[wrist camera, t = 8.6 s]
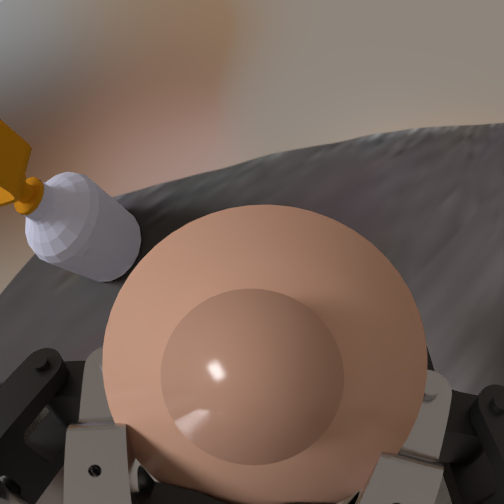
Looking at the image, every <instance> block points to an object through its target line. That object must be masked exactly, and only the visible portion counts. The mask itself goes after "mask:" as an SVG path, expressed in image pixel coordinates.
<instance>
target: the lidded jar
mask: <svg viewBox="0 0 504 504" xmlns="http://www.w3.org/2000/svg"><path fill="white" fill-rule="evenodd" d="M102 370H103V380H104V389H105V393H106V397H107V401H108V405H109V409H110V412H111V414H112V417H113V420H114V422H115V423H122V424H126V425H127V429H128V433H129V436H130V440H131V444H132V448H133V451H134V455H135V458H136V459H137V461H138V462H139V463H140V464H141V465H142V466H143V467H144V468H145V469H146V470H147V472H148V473H149V474H150V475H151V476H152V477H154V478H155V479H156V480H157V481H158V482H160V483H163V484H167V485H171V486H175V487H180V488H184V489H189V490H193V491H198V492H200V493H202V494H204V495H207V496H209V497H211V498H214V499H216V500H218V501H221V502H223V503H226V504H290V503H294V504H337V503H339V502H342V501H344V500H346V499H347V498H349V497H351V496H352V495H354V494H355V493H357V492H358V491H360V490H361V489H362V488H363V486H364V485H365V483H366V481H367V479H368V478H369V476H370V474H371V472H372V470H373V468H374V466H375V464H376V462H377V461H378V459H379V457H380V455H381V453H382V452H387V453H395V454H398V452H399V451H400V449H401V448H402V446H403V445H404V443H405V442H406V440H407V438H408V436H409V434H410V432H411V430H412V428H413V426H414V424H415V422H416V420H417V417H418V414H419V411H420V408H421V404H422V401H423V398H424V392H425V386H426V380H427V347H426V338H425V332H424V328H423V324H422V321H421V317H420V313H419V311H418V308H417V306H416V303H415V301H414V299H413V296H412V294H411V292H410V290H409V289H408V287H407V285H406V284H405V282H404V280H403V279H402V277H401V275H400V274H399V272H398V271H397V270H396V269H395V267H394V266H393V265H392V264H391V263H390V261H389V260H388V259H387V258H386V257H385V256H384V255H383V254H382V253H381V252H380V251H379V250H378V249H377V248H376V247H375V246H374V245H373V244H372V243H371V242H369V241H368V240H367V239H365V238H364V237H362V236H361V235H360V234H358V233H357V232H355V231H354V230H353V229H351V228H349V227H347V226H345V225H343V224H341V223H340V222H338V221H336V220H334V219H331V218H329V217H326V216H323V215H321V214H318V213H315V212H312V211H308V210H304V209H299V208H295V207H289V206H279V205H248V206H242V207H235V208H229V209H225V210H222V211H218V212H215V213H211V214H208V215H206V216H204V217H201V218H199V219H197V220H194V221H192V222H190V223H188V224H186V225H184V226H183V227H181V228H179V229H178V230H176V231H174V232H173V233H171V234H170V235H168V236H167V237H166V238H165V239H163V240H162V241H161V242H159V243H158V244H157V245H156V246H155V247H154V248H153V249H152V250H151V251H150V252H149V253H148V254H147V255H146V256H145V257H144V258H143V259H142V260H141V261H140V262H139V263H138V265H137V266H136V267H135V268H134V270H133V271H132V272H131V274H130V275H129V276H128V278H127V280H126V282H125V283H124V285H123V287H122V288H121V290H120V292H119V294H118V296H117V298H116V301H115V303H114V305H113V308H112V310H111V313H110V317H109V320H108V323H107V327H106V331H105V338H104V344H103V361H102Z"/></svg>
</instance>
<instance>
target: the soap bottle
mask: <svg viewBox="0 0 504 504" xmlns="http://www.w3.org/2000/svg"><path fill="white" fill-rule="evenodd" d="M30 154H31V147H30V145H29V144H28V143H27V142H26V141H25V140H23V139H22V138H21V137H20V136H19V135H18V134H16V133H15V132H14V131H13V130H12V129H11V128H10V127H8V126H7V125H6V124H5V123H4V122H3V121H2V120H1V119H0V207H1V206H4V205H8V204H11V203H14V205H15V209H16V210H17V212H18V213H20V214H22V215H23V216H25V217H26V230H25V233H26V237H27V241H28V244H29V246H30V247H31V248H32V250H33V251H34V252H35V254H36V255H37V256H38V257H39V259H41V260H44V261H46V262H48V263H50V264H53V265H55V266H58V267H61V268H63V269H66V270H69V271H71V272H74V273H76V274H79V275H82V276H85V277H87V278H90V279H93V280H96V281H98V282H107V281H112V280H114V279H117V278H119V277H121V276H123V275H124V274H125V273H126V272H127V271H128V270H129V269H130V268H131V267H132V265H133V264H134V262H135V260H136V258H137V256H138V254H139V249H140V244H141V235H140V227H139V225H138V223H137V221H136V219H135V217H134V216H133V215H132V214H131V213H129V212H128V211H127V210H126V209H125V208H124V207H122V206H121V205H120V204H119V203H118V202H116V201H115V200H114V199H113V198H112V197H111V196H109V195H108V194H107V193H106V192H105V191H104V190H102V189H101V188H100V187H99V186H98V185H97V184H96V183H94V182H93V181H92V180H91V179H90V178H88V177H87V176H86V175H84V174H77V173H72V172H65V173H61V174H58V175H56V176H54V177H53V178H51V179H50V180H48V181H47V182H46V183H44V182H43V181H41V180H39V179H37V178H36V177H30V178H28V179H27V180H26V175H25V172H26V168H27V164H28V161H29V157H30Z"/></svg>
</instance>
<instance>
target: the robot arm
mask: <svg viewBox="0 0 504 504" xmlns="http://www.w3.org/2000/svg"><path fill="white" fill-rule="evenodd" d="M426 347H427V345H426ZM102 361H103V347H101V348H99V349H97V350H95V351H94V352H93V353H91V354H90V355H89V357H88V358H87V360H86V361H67V362H64V361H63V359H62V357H61V356H60V354H59V353H58V351H56V350H54V349H51V348H43V349H40V350H37V351H35V352H33V353H32V354H31V355H30V356H28V358H27V359H26V360H25V361H24V362H23V363H22V364H21V365H20V366H19V367H18V368H17V369H16V370H15V371H14V372H13V373H12V374H11V375H10V376H9V377H8V378H7V379H6V381H5V382H4V383H3V384H2V385H1V386H0V504H35V503H36V502H37V501H38V499H39V498H40V496H41V495H42V494H43V492H44V491H45V489H46V488H47V487H48V485H49V484H50V482H51V481H52V480H53V478H54V477H55V475H56V474H57V473H58V471H59V470H60V469H61V467H62V466H63V464H64V504H226V503H223V502H221V501H218V500H216V499H214V498H211V497H209V496H207V495H204V494H202V493H200V492H198V491H193V490H189V489H184V488H180V487H175V486H171V485H167V484H163V483H160V482H158V481H157V480H156V479H155V478H154V477H152V476H151V475H150V474H149V473H148V472H147V470H146V469H145V468H144V467H143V466H142V465H141V464H140V463H139V462H138V461H137V459H136V458H135V455H134V451H133V448H132V444H131V440H130V436H129V433H128V429H127V425H126V424H122V423H115V422H114V420H113V417H112V414H111V412H110V409H109V405H108V401H107V397H106V393H105V389H104V380H103V370H102ZM45 406H46V408H47V409H48V410H49V413H48V414H47V415H46V416H45V418H44V419H43V420H42V421H41V422H40V424H39V425H38V426H37V427H36V429H35V430H34V431H33V432H32V434H31V435H30V436H29V437H28V438H27V439H26V440H24V439H23V436H24V432H25V430H26V429H27V428H28V426H29V425H30V424H31V423H32V422H33V420H34V419H35V418H36V417H37V416H38V414H39V413H40V412H41V411H42V410H43V408H44V407H45ZM485 454H486V455H485ZM488 461H489V462H488ZM490 466H491V467H490ZM492 471H493V472H492ZM442 476H444V479H445V482H446V485H447V488H448V491H449V494H450V497H451V501H452V504H504V387H503V386H501V385H490V386H487V387H485V388H484V389H483V390H482V391H481V393H480V394H479V396H477V395H472V394H467V393H462V392H458V391H455V390H452V389H451V386H450V384H449V382H448V381H447V380H446V379H445V378H444V377H443V376H442V375H440V374H439V373H437V372H435V371H434V368H433V365H432V361H431V358H430V355H429V352H428V348H427V380H426V386H425V392H424V398H423V401H422V404H421V408H420V411H419V414H418V417H417V420H416V422H415V424H414V426H413V428H412V430H411V432H410V434H409V436H408V438H407V440H406V442H405V443H404V445H403V446H402V448H401V449H400V451H399V452H398V454H395V453H387V452H382V453H381V455H380V457H379V459H378V461H377V462H376V464H375V466H374V468H373V470H372V472H371V474H370V476H369V478H368V479H367V481H366V483H365V485H364V486H363V488H362V489H361V490H360V491H358V492H357V493H355V494H354V495H352V496H351V497H349V498H347V499H346V500H344V501H343V503H342V504H434V502H435V499H436V496H437V493H438V490H439V486H440V483H441V480H442ZM494 476H495V477H494ZM495 479H496V480H495ZM290 504H294V503H290Z"/></svg>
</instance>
